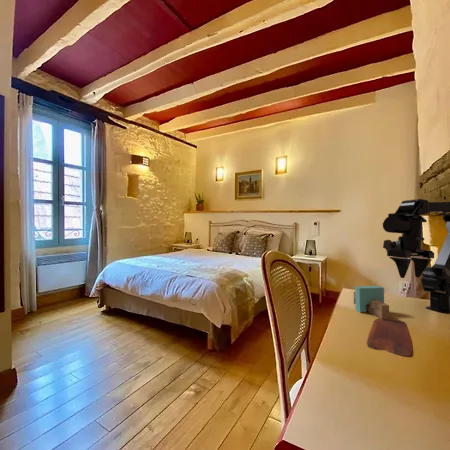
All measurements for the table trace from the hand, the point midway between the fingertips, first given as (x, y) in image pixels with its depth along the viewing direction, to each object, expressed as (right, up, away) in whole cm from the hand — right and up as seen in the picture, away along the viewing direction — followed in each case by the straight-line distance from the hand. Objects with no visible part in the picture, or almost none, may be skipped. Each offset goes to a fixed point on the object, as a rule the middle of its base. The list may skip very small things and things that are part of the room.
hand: (409, 277), depth 90 cm
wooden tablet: (-18, -14, -16) cm, 28 cm away
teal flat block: (-12, -13, +3) cm, 19 cm away
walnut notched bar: (-12, -13, +3) cm, 19 cm away
